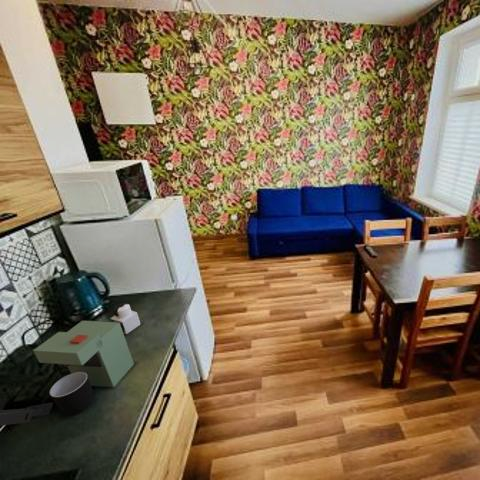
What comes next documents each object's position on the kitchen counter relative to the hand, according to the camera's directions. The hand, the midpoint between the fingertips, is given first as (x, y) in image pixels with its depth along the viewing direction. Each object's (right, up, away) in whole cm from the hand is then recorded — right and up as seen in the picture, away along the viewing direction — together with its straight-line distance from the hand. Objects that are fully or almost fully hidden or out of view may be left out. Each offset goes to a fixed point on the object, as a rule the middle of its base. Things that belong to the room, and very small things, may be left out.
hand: (26, 406), depth 73 cm
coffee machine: (+1, -5, +23) cm, 23 cm away
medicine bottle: (-7, +5, +48) cm, 49 cm away
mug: (0, -9, +14) cm, 16 cm away
